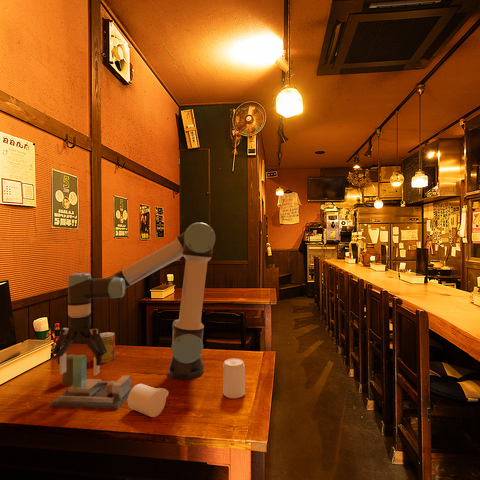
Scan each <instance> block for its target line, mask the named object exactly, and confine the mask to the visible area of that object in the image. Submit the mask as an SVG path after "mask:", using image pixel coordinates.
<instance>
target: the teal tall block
mask: <svg viewBox="0 0 480 480" xmlns="http://www.w3.org/2000/svg"><path fill="white" fill-rule="evenodd" d="M87 377H88V376H87V354H77V355H76V356H75V357H74V358H73V385H70V387H68V388H67V390H68V396H86V397H91V396H92V395H93V394H95V393H96V392H97V391H98V390H99V389H100V388H102V381H103V380H102V379H100V378H87Z"/></svg>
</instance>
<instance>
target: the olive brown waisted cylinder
mask: <svg viewBox="0 0 480 480" xmlns="http://www.w3.org/2000/svg"><path fill="white" fill-rule="evenodd" d="M75 356H77V355H76V354H66V372H65V373H63V374H62V377H61V378H62V379H61V385H62V386H64V387H65V386H66V387H68V386H72V385H73V358H74V357H75Z"/></svg>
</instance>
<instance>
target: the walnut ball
mask: <svg viewBox="0 0 480 480" xmlns="http://www.w3.org/2000/svg"><path fill="white" fill-rule="evenodd" d="M115 382H116V381H115V380H111V382H109V383H108V384H107V385H106V387H105V391H106V393H107V394H112V385H113V384H114V383H115Z"/></svg>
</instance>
